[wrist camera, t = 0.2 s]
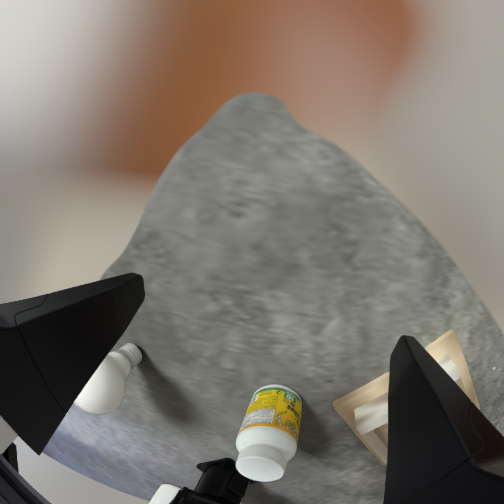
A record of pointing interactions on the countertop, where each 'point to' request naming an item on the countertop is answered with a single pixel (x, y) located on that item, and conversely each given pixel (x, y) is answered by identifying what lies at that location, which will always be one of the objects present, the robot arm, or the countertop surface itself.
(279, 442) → the supplement bottle
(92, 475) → the countertop surface
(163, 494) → the can
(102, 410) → the lightbulb
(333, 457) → the countertop surface
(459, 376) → the base
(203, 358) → the countertop surface
